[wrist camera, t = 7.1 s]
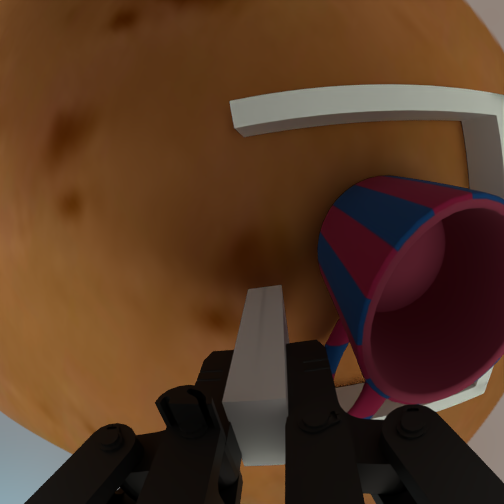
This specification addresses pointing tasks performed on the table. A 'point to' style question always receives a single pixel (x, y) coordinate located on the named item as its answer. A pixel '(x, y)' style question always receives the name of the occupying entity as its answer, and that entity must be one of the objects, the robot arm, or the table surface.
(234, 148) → the table surface
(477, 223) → the mug
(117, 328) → the table surface
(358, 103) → the white u-shaped frame
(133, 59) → the table surface
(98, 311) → the table surface
